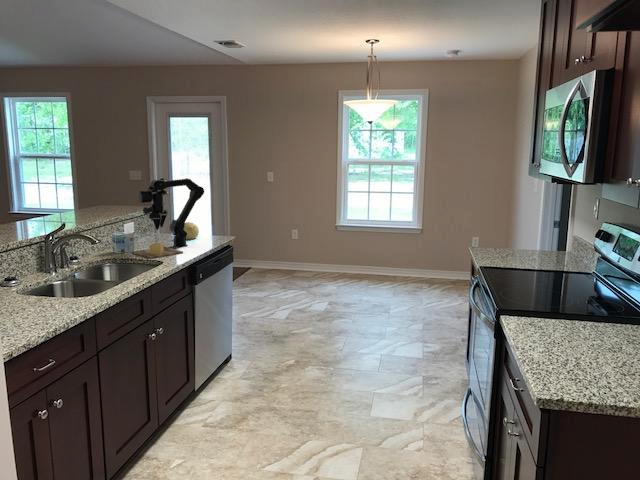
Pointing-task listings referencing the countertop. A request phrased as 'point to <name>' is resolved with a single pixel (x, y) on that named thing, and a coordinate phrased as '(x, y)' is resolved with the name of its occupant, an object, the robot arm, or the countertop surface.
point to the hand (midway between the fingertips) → (159, 228)
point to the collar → (156, 248)
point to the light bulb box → (123, 242)
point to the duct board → (166, 253)
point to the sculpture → (191, 230)
